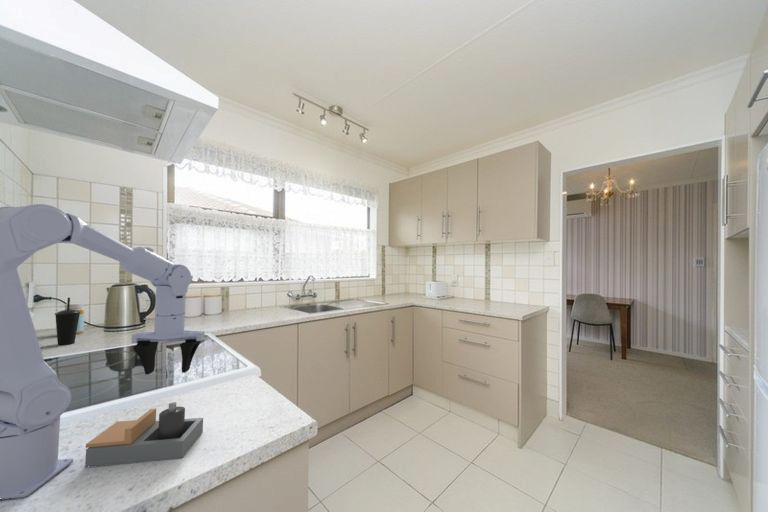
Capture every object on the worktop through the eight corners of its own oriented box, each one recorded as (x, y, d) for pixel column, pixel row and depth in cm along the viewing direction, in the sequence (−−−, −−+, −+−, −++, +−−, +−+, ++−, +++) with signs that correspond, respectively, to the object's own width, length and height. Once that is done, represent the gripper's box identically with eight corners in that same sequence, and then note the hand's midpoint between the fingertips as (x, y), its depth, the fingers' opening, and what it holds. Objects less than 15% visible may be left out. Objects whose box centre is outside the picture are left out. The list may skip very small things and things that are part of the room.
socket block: (85, 467, 48) (86, 449, 48) (119, 439, 56) (120, 423, 56) (182, 457, 51) (183, 440, 51) (202, 432, 59) (203, 417, 59)
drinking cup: (68, 341, 126) (70, 296, 126) (84, 341, 125) (86, 296, 126) (46, 346, 118) (49, 298, 119) (64, 346, 118) (67, 298, 119)
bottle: (84, 331, 144) (85, 302, 145) (81, 334, 139) (83, 303, 139) (63, 333, 140) (65, 303, 140) (60, 336, 134) (62, 304, 135)
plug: (152, 454, 52) (154, 409, 52) (164, 441, 56) (166, 399, 56) (177, 451, 53) (179, 407, 53) (187, 438, 56) (188, 398, 57)
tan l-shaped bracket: (85, 447, 49) (86, 432, 49) (117, 424, 56) (117, 411, 56) (130, 443, 50) (131, 428, 50) (155, 421, 57) (156, 408, 57)
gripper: (210, 311, 72) (208, 364, 72) (146, 312, 70) (144, 367, 69) (197, 315, 66) (195, 375, 65) (126, 317, 63) (123, 378, 62)
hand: (167, 372), depth 67 cm, fingers open, 7 cm apart
